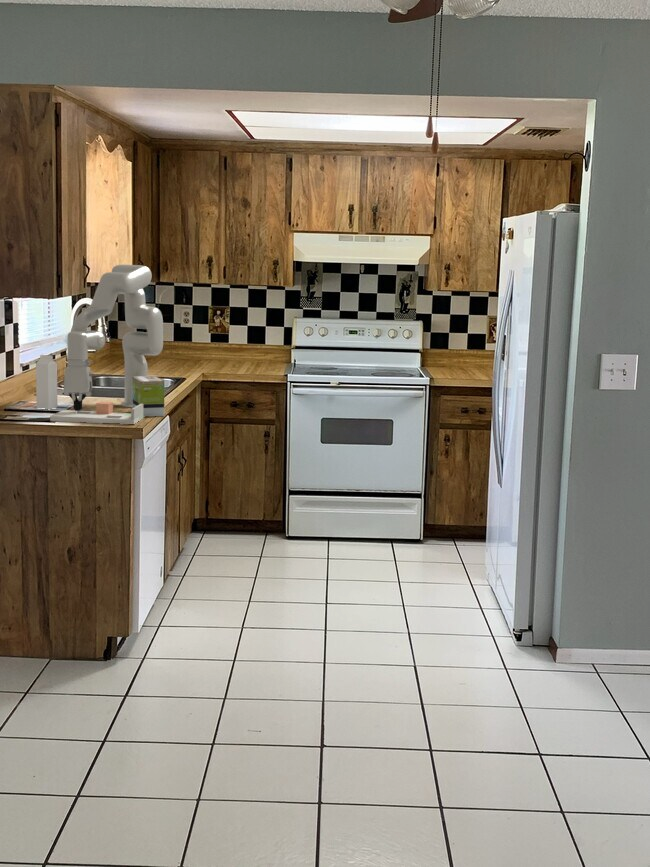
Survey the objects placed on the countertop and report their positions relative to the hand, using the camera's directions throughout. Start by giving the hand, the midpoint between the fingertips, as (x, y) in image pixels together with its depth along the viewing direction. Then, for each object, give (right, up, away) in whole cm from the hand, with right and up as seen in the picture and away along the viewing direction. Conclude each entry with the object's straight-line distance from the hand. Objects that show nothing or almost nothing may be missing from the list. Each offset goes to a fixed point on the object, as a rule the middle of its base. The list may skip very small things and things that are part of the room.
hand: (78, 410), depth 370 cm
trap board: (+9, -4, -4) cm, 10 cm away
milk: (-17, +1, +18) cm, 25 cm away
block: (+10, -1, +1) cm, 10 cm away
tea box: (+25, -1, +16) cm, 29 cm away
